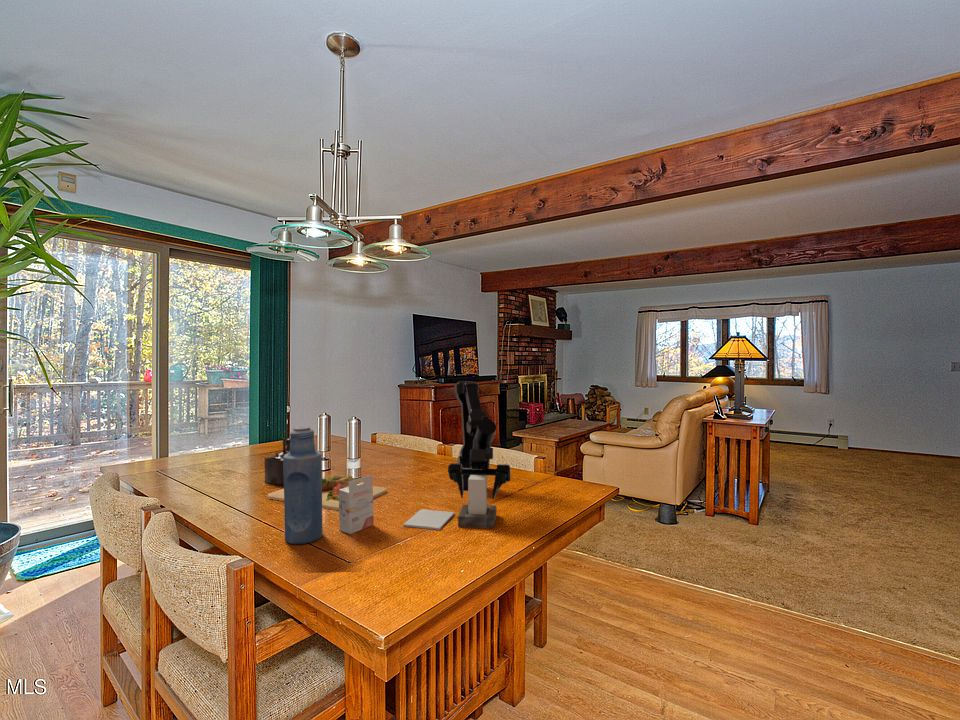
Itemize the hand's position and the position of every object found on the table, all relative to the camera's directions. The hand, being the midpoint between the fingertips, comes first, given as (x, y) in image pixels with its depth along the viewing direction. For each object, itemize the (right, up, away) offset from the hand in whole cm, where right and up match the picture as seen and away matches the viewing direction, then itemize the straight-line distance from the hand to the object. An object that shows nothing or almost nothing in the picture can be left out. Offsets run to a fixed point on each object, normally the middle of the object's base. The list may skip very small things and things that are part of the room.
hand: (477, 498), depth 136 cm
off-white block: (0, -7, +1) cm, 7 cm away
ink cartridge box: (-34, -8, -4) cm, 35 cm away
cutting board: (-53, -8, +27) cm, 60 cm away
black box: (-73, -7, +44) cm, 86 cm away
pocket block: (0, -7, +1) cm, 7 cm away
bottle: (-47, -8, -10) cm, 49 cm away
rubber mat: (-14, -7, +2) cm, 16 cm away
